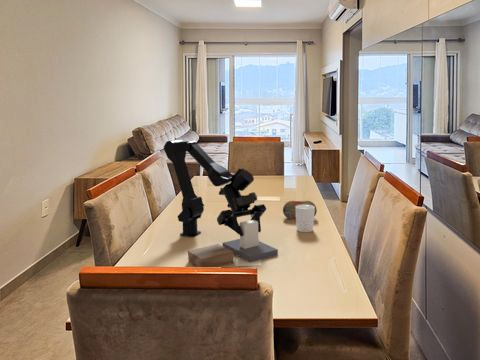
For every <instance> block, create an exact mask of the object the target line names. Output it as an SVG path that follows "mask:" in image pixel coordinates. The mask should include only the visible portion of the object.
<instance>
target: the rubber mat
mask: <svg viewBox="0 0 480 360" xmlns="http://www.w3.org/2000/svg"><path fill="white" fill-rule="evenodd" d="M222 246H223V247H225V248H227V249H229V250H231V251H233V255H235V256H237V257H238V258H239V257H240V259H241V258H242V259H243V260H245V261H246V262H248V263H252V262H256V261H259V260H260V261H261V260H263V259H267V258H270V257H273V256H274V257H275V256H278V255H279V253H278V252H279V249H278V248H275V247H273V246H271V245H269V244H267V243H264V242H262V241H260V240H259V245H258V246H254V247H250V248H246V249H244V248H242V247H240V238H237V239H233V240H228V241H224V242H222Z"/></svg>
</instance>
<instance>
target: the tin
mask: <svg viewBox="0 0 480 360" xmlns="http://www.w3.org/2000/svg"><path fill="white" fill-rule="evenodd" d="M297 205H312V206H314V207H315V211H314V217H316V215H317V211H318V209H317V206H316V204H315V203H314V202H312V201H310V200H289V201H288V202H287V201H286V203H284V205H283V208H282V213H283V215H284V217H285V218H287V219H289V220H296V209H295V206H297Z"/></svg>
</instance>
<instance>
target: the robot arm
mask: <svg viewBox="0 0 480 360" xmlns="http://www.w3.org/2000/svg"><path fill="white" fill-rule="evenodd" d="M163 150H164V153H165V156H166V157H167V159H169V161H170V162H171V163H172V165H173V169H174V172H175V175H176V177H177V181H178V186H179V187H180V191H181V195H182V201H181V209H182V211H181V212H180V213H179V214H178V215H177V220H178V222H181V223H182V232H181V233H179V236H180V237H181V236H183V237H189V238H190V237H191V238H194V237H196V236H198V235H199V234H201V233H202V231H199V230H198V219H201V218H202V214H203V212H204V211H205V210H204V208H205V205H204V202H203V197H202V196H197V194H195V190H194V187H193V183H192V180H191V177H190V172H189V170H188V166H187V163H186V156H187V153H188V154H189V155H190V156H191V157H192V158H193V159H194V160H195V161H196V163H198V164H199V166H201V168H202V169H203V170H205V173H206V176H207V178H208V179H209V182H210V183H211V184H212V185H213V187H214V186H215V187H220V189H219V191H218V195H219V196H224V197H225V200H226V201H227V203H228V204H227V208H228V209H225V210H221V211H220V213H219V214H218V216H217V219H216V221H217V224H218V225H219V226H222V225H224V226H225V227H228V228H229V229H231V230H232V231H234V232H235V233H236V234H237V235H238V236H239V237H240V236H243V233H242V230H241V228H240V223H239V222H238V218H241V217H245V216H250V217H251V218H250V220H255V221H258V233H261V232H262V229H261V227H262V226H261V217H262V216H263V215H264V214H265V212H266V210H267V207H266V205H265V204H264V203H259V204H258V203H257V204H255V203H256V201H258V197H257V196H258V195H257V194H256V192H253V191H252V192H250V193H248V194H245V195H242V194H241V192H243V191H245V190H246V189H247V188H248V186H250V185H251V184H252V183H253V182H254V180H255V178H254V175H253V174H252V173H251V172H250V171H248V170H246V169H244V167H240V168H238V169H237V171H236V172H235V173H232V172H230V171H229V169H227V168H225V167H224V165H223V166H222V165H220V164H218V163H216V161H214V159H212V158H211V157H210V155H208V154H207V153H206V151H205V150H204V149H203V148H202V147H201V146H200V145H199V143H198V142H197V141H196V140H187V141H186V140H185V141H183V140H181V139H173V140H166V142H165V143H164V146H163ZM221 186H223V187H221ZM240 191H241V192H240ZM252 204H254V206H253V207H252V208H251V205H252ZM229 208H230V209H229ZM249 208H250V209H249Z"/></svg>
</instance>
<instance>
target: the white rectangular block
mask: <svg viewBox="0 0 480 360" xmlns="http://www.w3.org/2000/svg"><path fill="white" fill-rule="evenodd" d="M239 226H240V228H241V230H242V233H243V236H240V235H239V239H240V247H242V248H244V249H246V248H250V247H254V246H258V245H259V241H260V239H259V232H258V221H255V220H251V219H250V220H246V221H240V222H239Z"/></svg>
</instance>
